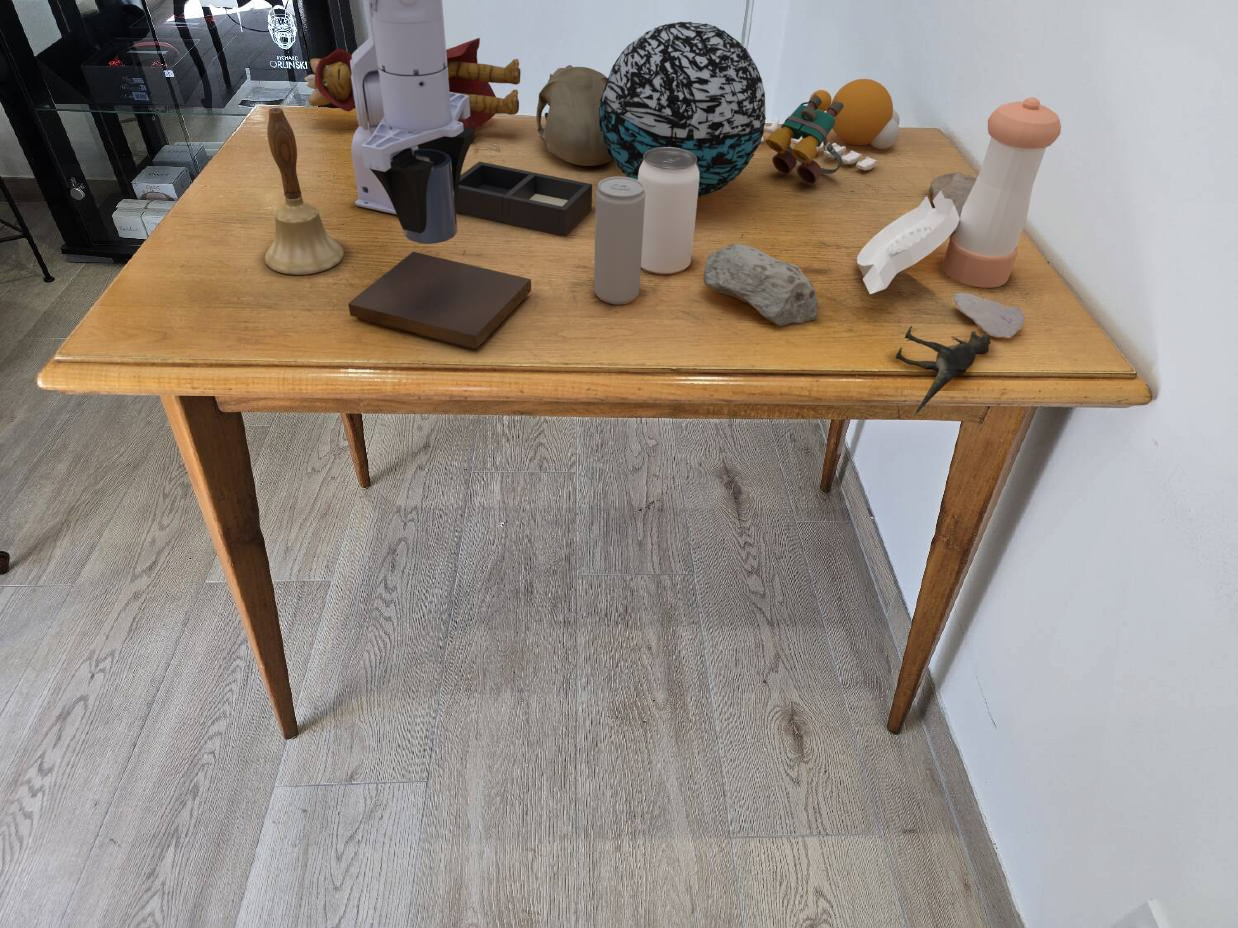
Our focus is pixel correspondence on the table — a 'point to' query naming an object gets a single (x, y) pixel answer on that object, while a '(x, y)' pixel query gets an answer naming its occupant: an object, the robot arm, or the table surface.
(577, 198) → the rack
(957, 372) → the dinosaur
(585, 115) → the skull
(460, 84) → the figurine
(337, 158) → the table surface
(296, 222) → the hand bell
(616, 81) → the decorative sphere
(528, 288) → the shelf
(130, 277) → the table surface
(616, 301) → the beverage can
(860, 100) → the toy
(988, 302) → the stone
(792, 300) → the decorative stone
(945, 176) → the stone
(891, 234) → the two-handled dish
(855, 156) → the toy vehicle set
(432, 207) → the tumbler
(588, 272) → the table surface
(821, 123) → the binoculars
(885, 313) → the table surface
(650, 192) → the can
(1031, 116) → the pepper shaker
